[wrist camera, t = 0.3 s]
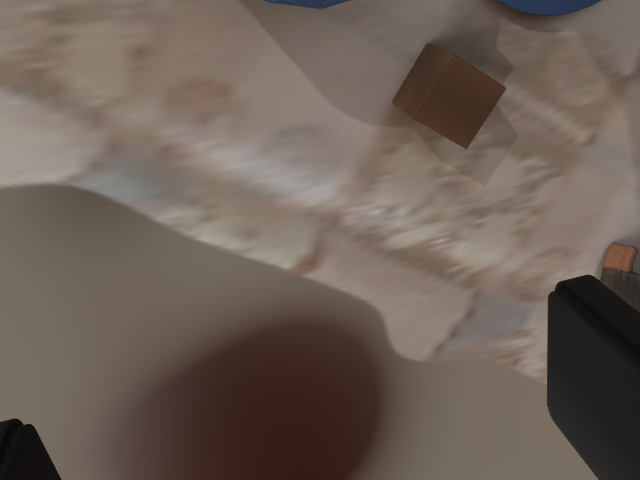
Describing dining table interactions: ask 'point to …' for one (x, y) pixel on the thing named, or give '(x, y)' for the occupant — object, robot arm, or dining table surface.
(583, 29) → the dining table surface
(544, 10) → the lid
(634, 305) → the brown broken vessel
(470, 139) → the block
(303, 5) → the pot
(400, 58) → the dining table surface
